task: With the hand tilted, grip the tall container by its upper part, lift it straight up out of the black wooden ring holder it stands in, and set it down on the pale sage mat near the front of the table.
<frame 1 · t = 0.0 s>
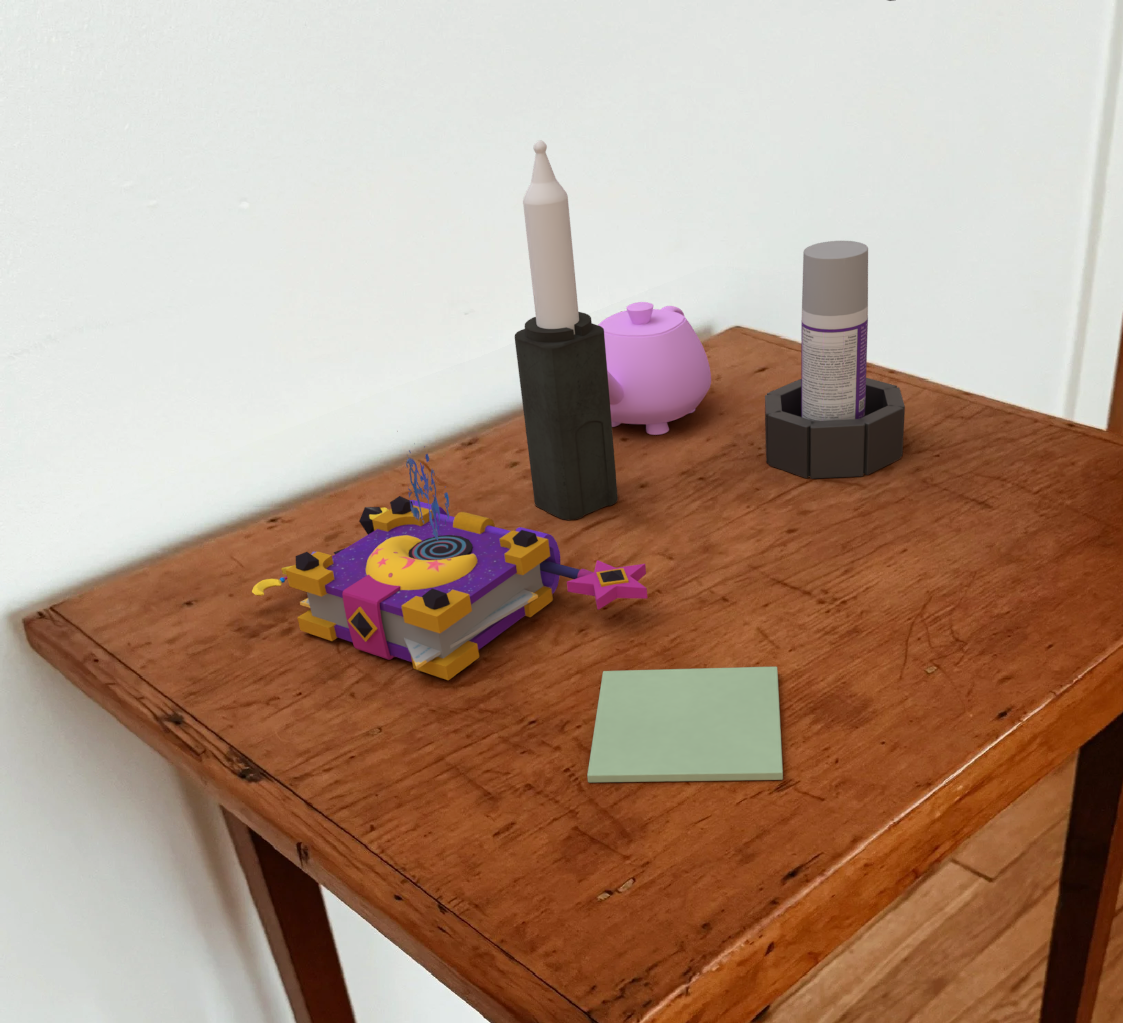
candle: (576, 503, 96), on the table
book: (447, 619, 84), on the table
teapot: (642, 422, 108), on the table
mat: (687, 725, 71), on the table
container: (832, 452, 99), resting in ring holder
ring holder: (832, 450, 99), on the table
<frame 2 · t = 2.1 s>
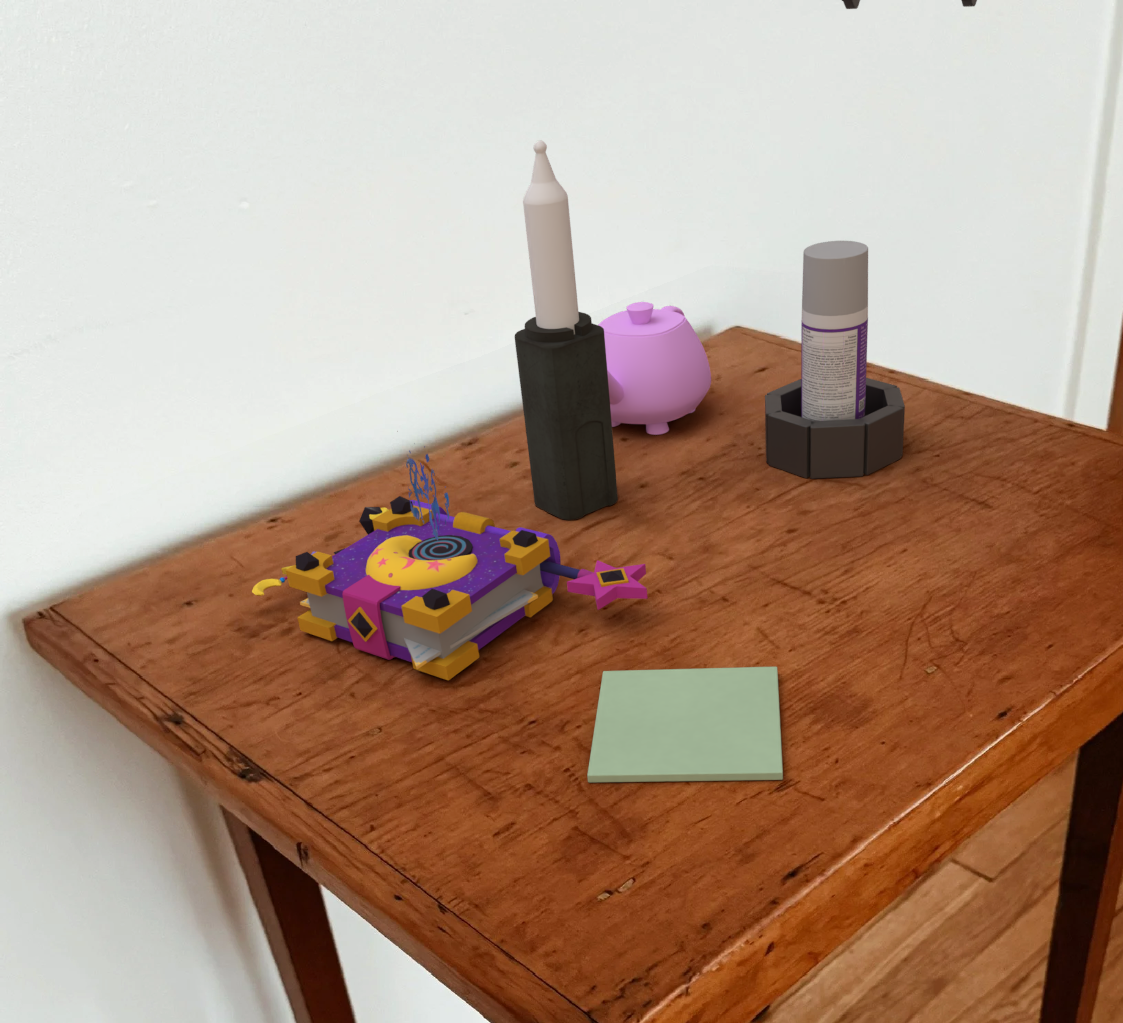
hand: (905, 0, 90), 29 cm above the table, tool tilted 45°, fingers open, 8 cm apart
nothing on the table moved.
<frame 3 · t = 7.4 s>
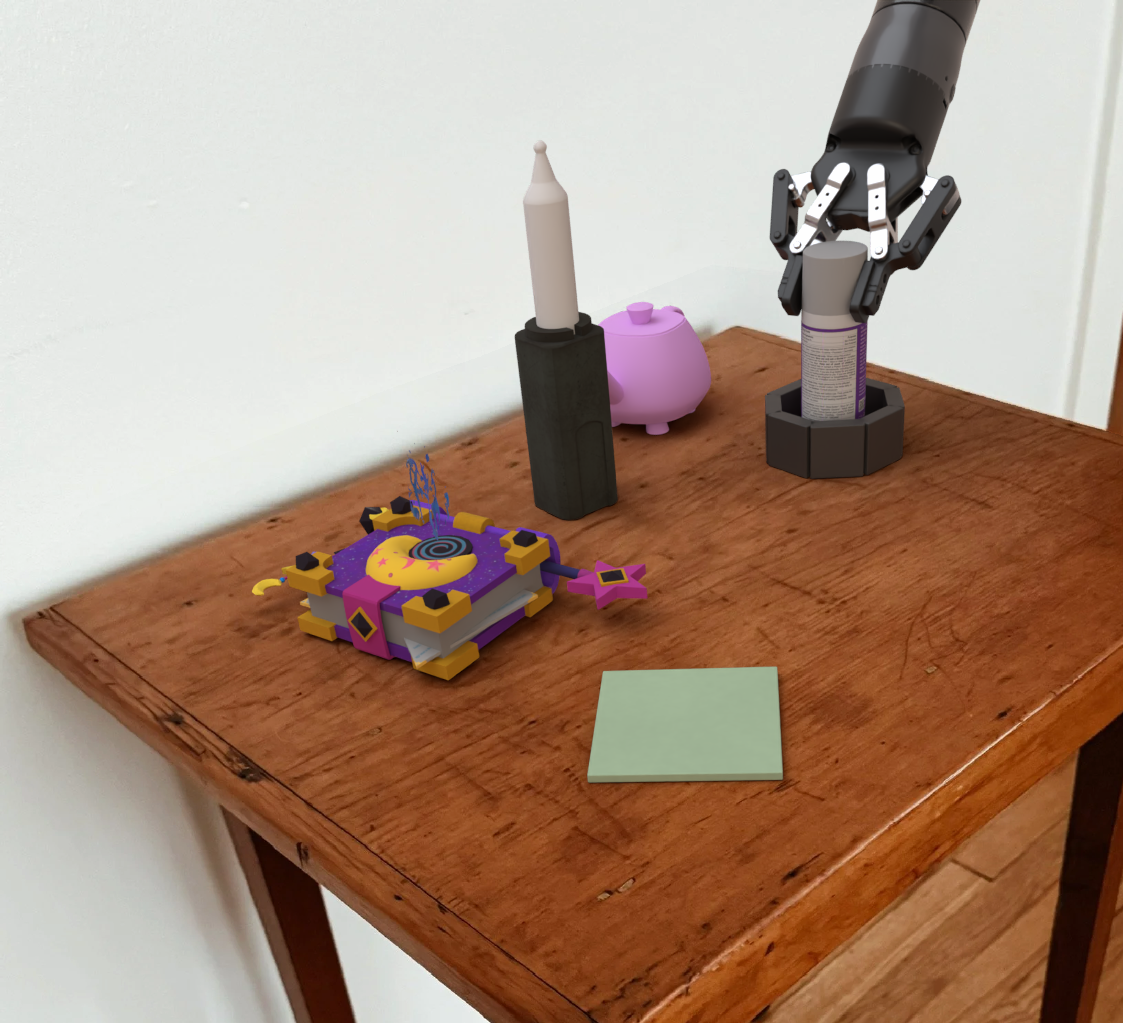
hand: (823, 313, 92), 11 cm above the table, tool tilted 45°, fingers closed on container, 4 cm apart
container: (832, 452, 99), resting in ring holder, touching gripper
everything else where it was.
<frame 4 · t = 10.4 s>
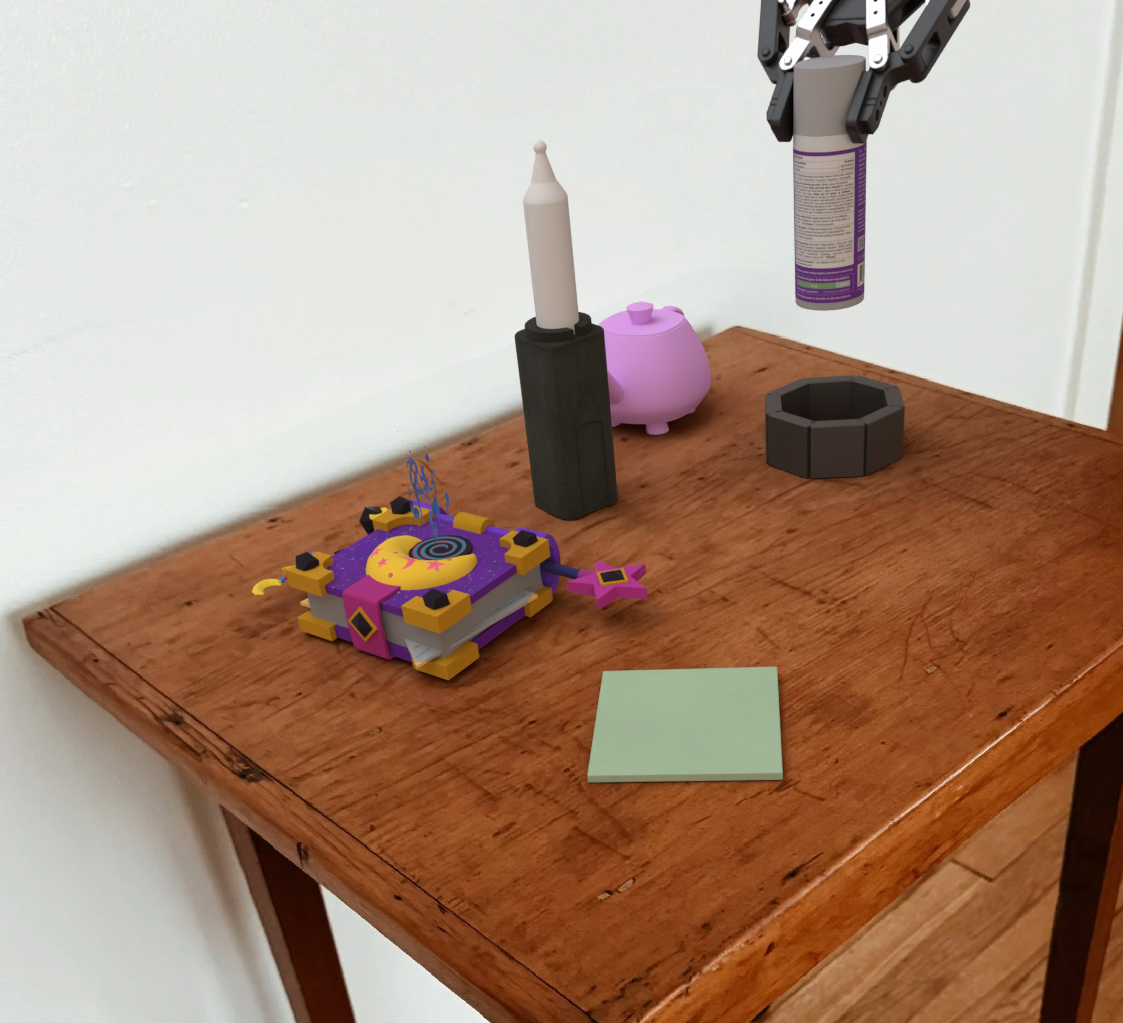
hand: (817, 134, 82), 24 cm above the table, tool tilted 45°, fingers closed on container, 4 cm apart
container: (829, 302, 90), point 12 cm above the table, touching gripper
everything else where it was.
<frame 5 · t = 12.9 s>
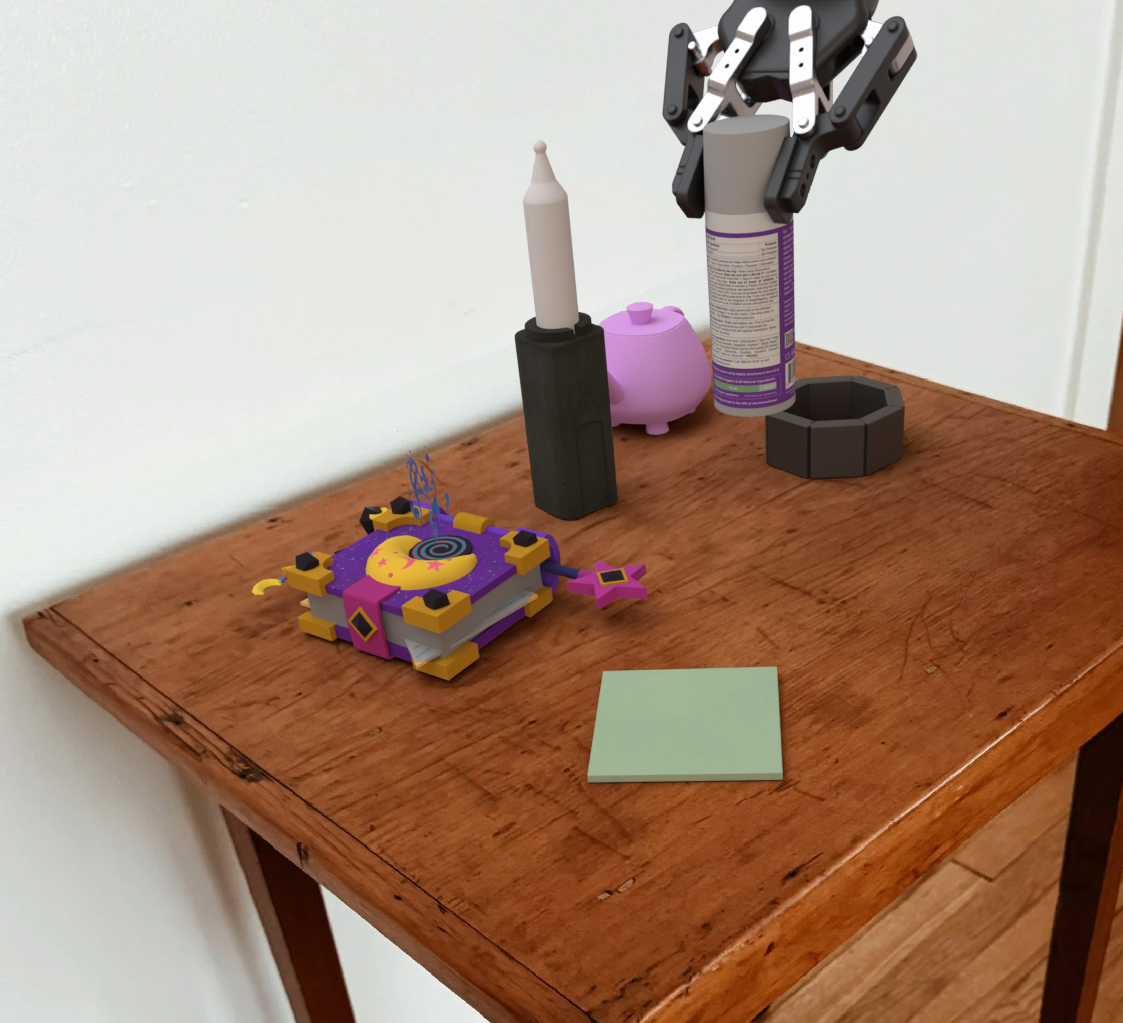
hand: (731, 211, 68), 24 cm above the table, tool tilted 45°, fingers closed on container, 4 cm apart
container: (754, 405, 75), point 12 cm above the table, touching gripper
everything else where it was.
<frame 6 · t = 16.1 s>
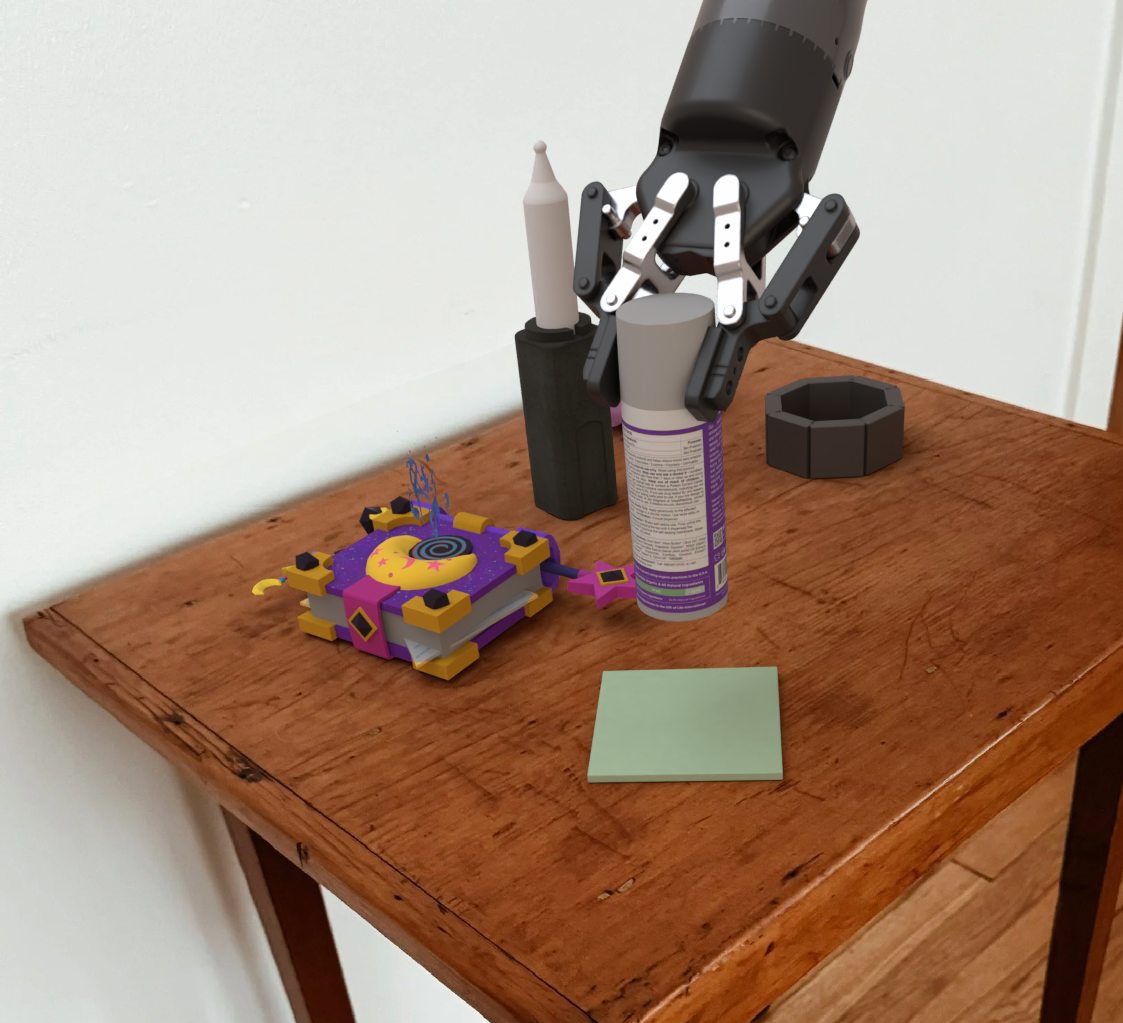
hand: (649, 405, 59), 19 cm above the table, tool tilted 45°, fingers closed on container, 4 cm apart
container: (682, 602, 67), point 8 cm above the table, touching gripper
everything else where it was.
when the fingers open (12 cm above the table, at t = 18.6 s): container stays where it is, resting on mat.
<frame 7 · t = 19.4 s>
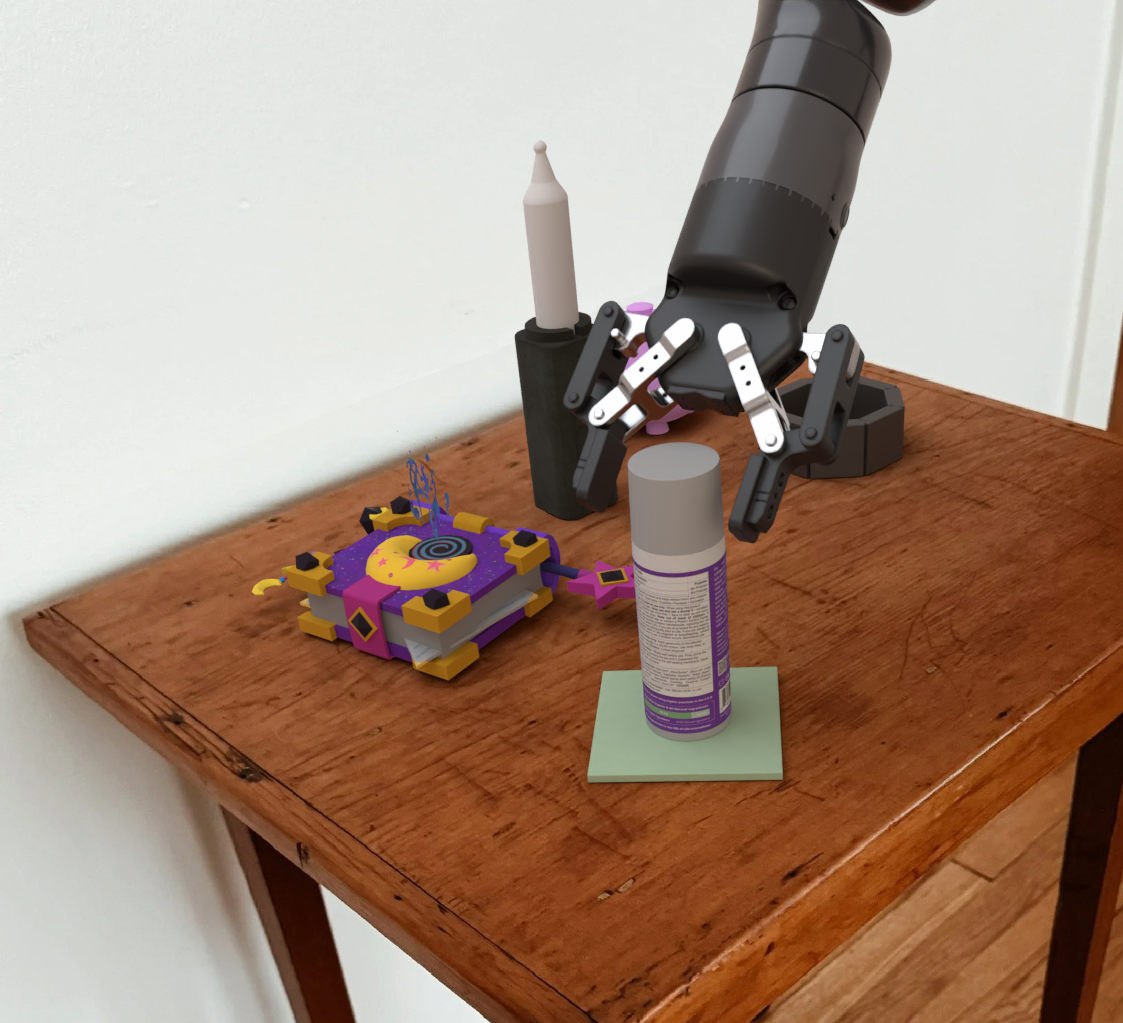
hand: (662, 521, 63), 13 cm above the table, tool tilted 45°, fingers open, 8 cm apart
container: (688, 719, 71), resting on mat
everything else where it was.
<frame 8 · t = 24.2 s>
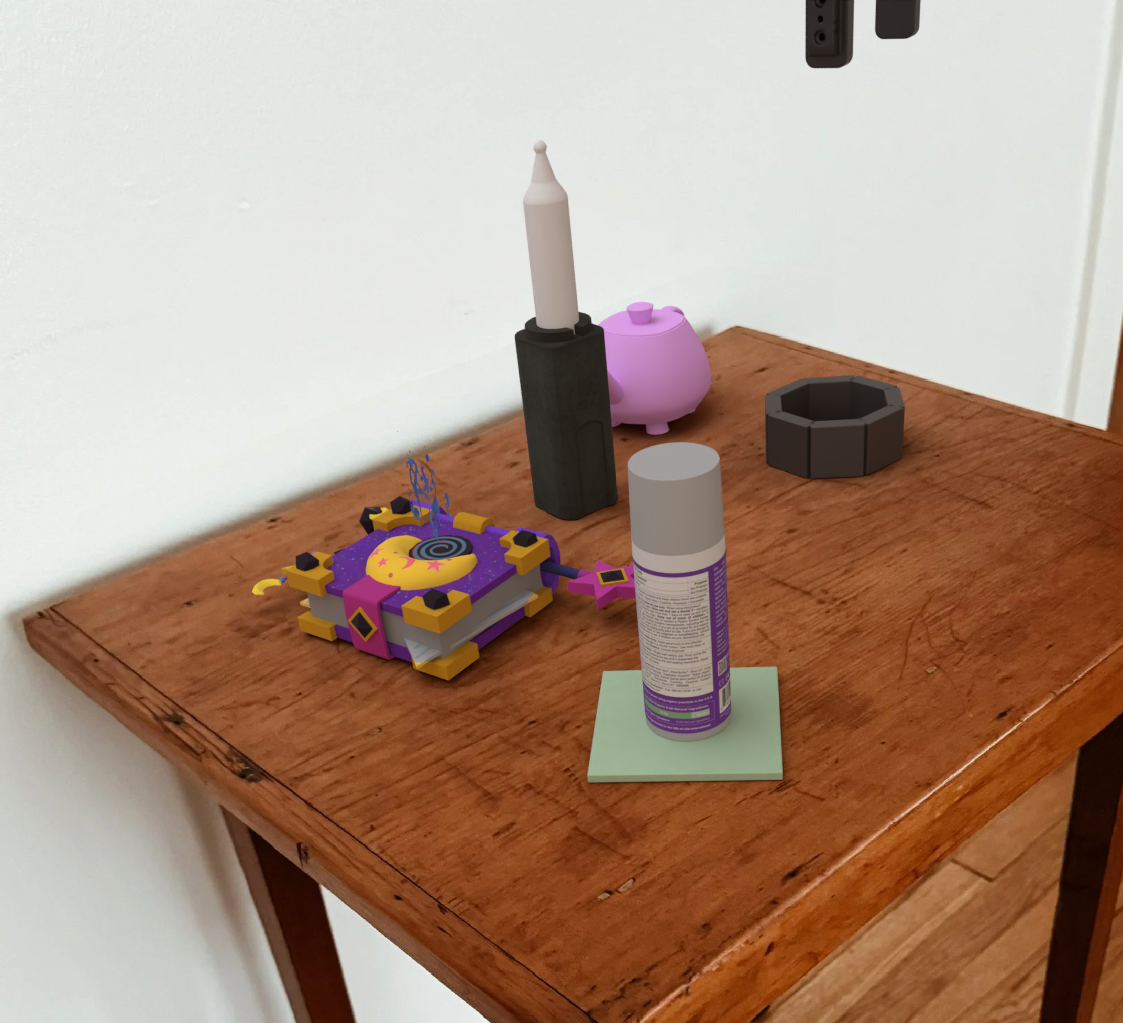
hand: (864, 51, 67), 30 cm above the table, tool pointing down, fingers open, 8 cm apart
nothing on the table moved.
at the end: container inside the target area on the mat (0.1 cm from its centre), point 0.3 cm above the mat's base; container tilted 0°; the gripper is holding nothing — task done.
